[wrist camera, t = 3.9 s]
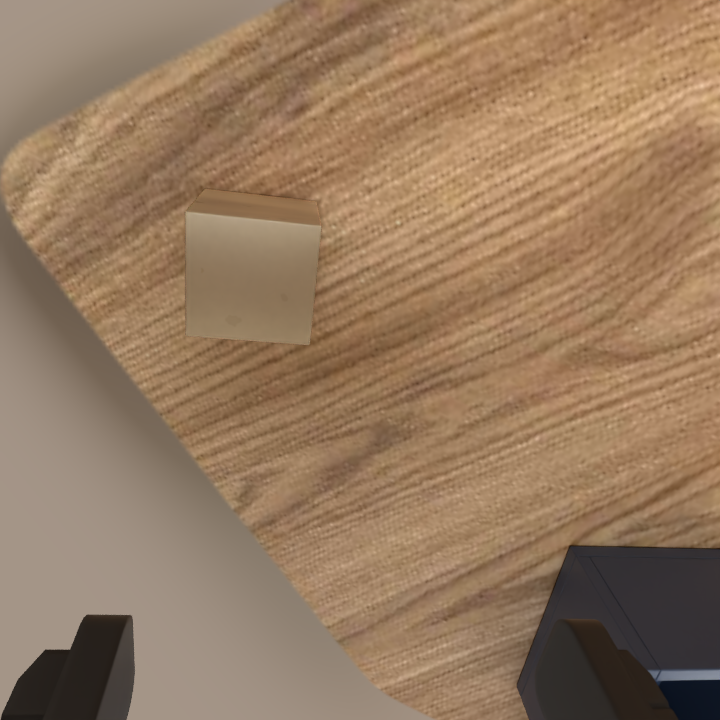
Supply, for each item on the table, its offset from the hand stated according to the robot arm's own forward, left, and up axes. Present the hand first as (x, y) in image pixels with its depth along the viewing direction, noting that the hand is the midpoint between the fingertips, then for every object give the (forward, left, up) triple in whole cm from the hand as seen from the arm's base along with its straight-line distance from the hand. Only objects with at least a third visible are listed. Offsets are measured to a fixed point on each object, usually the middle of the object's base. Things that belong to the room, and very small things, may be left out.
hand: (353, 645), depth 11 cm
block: (+3, +3, -16) cm, 17 cm away
